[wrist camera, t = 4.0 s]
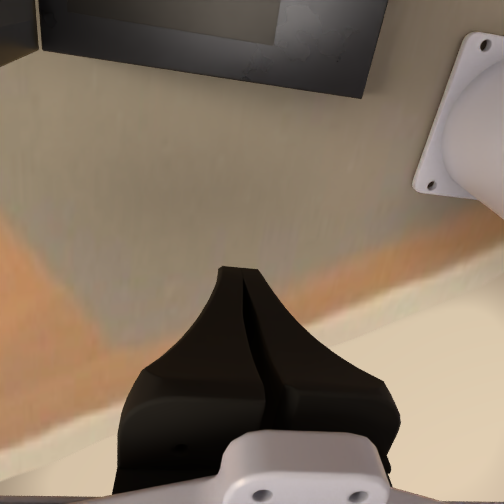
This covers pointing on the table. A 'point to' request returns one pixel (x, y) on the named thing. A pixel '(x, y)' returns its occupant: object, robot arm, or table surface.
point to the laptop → (226, 38)
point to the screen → (17, 29)
